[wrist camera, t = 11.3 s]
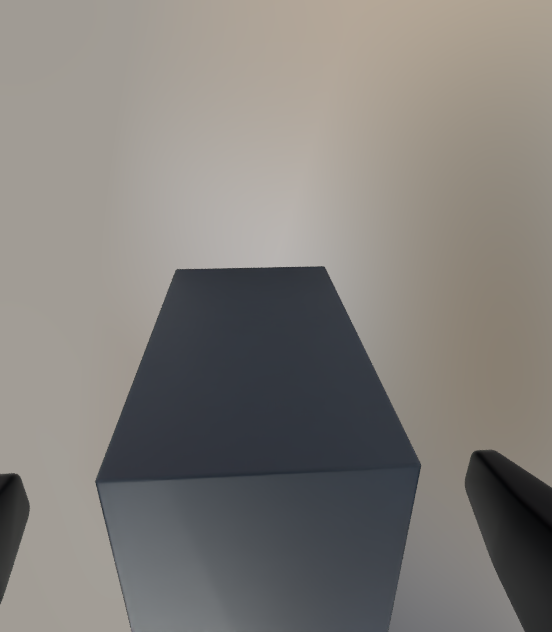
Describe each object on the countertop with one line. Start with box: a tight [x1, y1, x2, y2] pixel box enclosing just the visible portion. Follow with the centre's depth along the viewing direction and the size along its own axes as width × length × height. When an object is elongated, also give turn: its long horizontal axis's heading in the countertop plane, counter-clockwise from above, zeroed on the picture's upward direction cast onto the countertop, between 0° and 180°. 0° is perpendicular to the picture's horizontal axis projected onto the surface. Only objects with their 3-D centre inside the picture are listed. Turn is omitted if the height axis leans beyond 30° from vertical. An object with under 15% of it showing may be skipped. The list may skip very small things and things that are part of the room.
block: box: [95, 266, 421, 632], centre depth 10 cm, size 4×4×8 cm
